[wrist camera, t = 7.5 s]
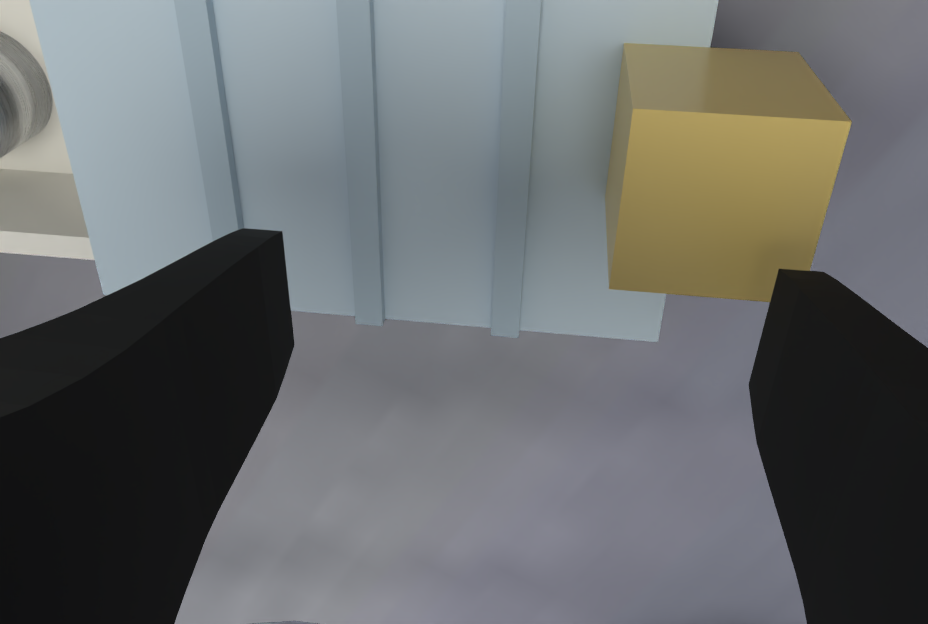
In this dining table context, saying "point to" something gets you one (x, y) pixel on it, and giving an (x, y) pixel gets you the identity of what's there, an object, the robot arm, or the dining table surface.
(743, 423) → the dining table surface
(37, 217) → the tub
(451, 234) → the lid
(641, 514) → the dining table surface
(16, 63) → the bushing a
